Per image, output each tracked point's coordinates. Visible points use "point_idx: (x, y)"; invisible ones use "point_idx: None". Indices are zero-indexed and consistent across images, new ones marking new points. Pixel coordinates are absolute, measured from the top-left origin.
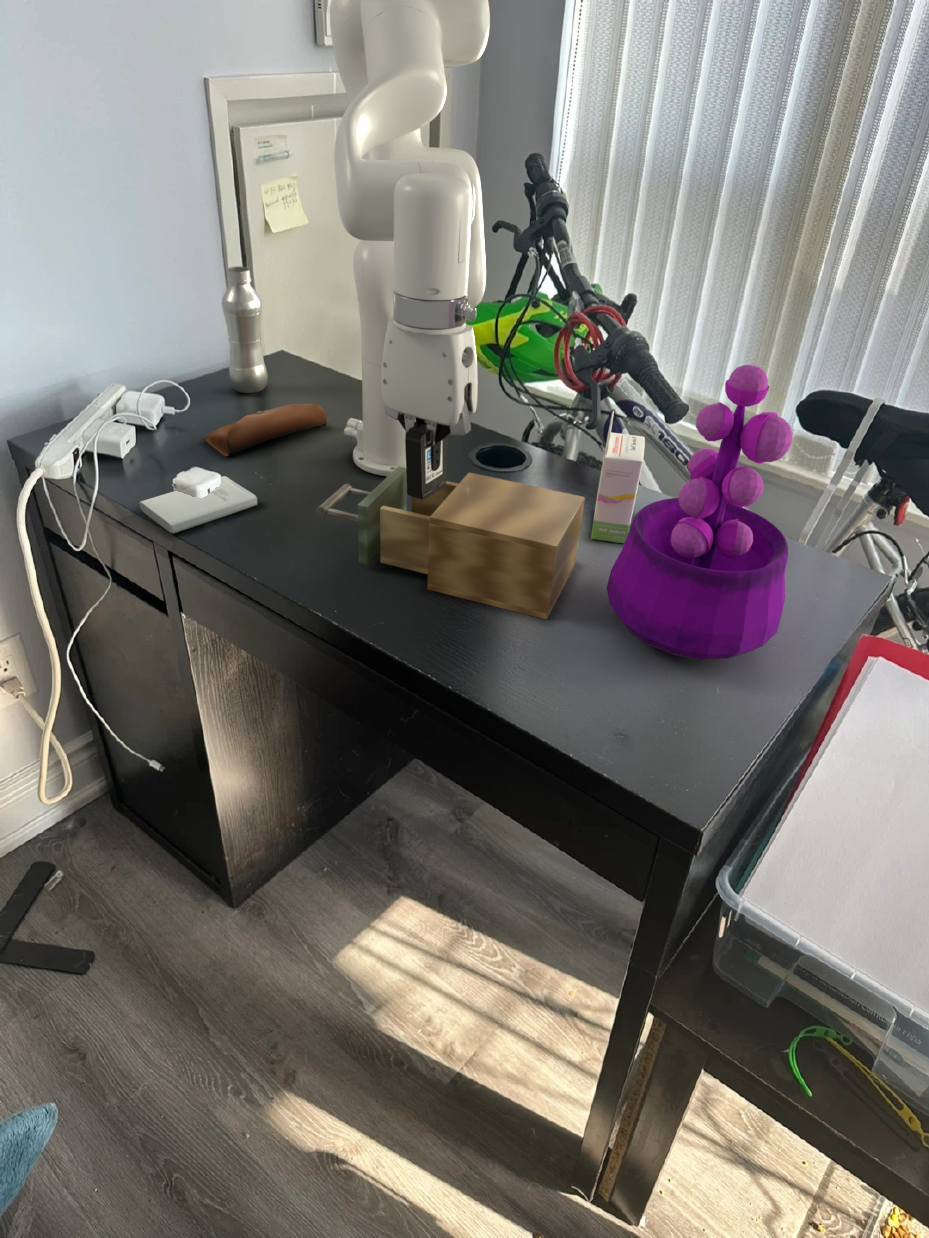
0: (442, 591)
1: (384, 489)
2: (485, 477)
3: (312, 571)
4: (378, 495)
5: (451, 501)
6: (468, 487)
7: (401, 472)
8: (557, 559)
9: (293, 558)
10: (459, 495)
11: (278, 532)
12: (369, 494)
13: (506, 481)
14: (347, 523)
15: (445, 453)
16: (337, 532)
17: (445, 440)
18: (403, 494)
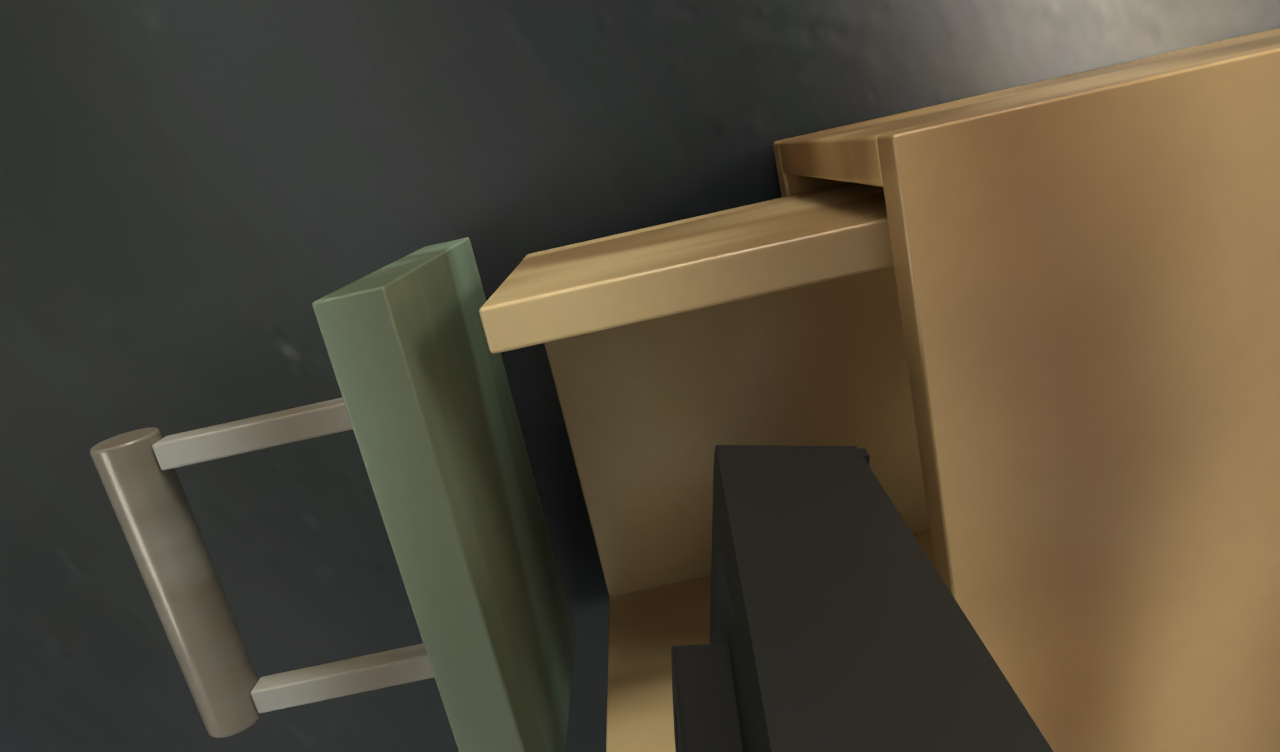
0: None
1: (488, 644)
2: (1058, 134)
3: (408, 730)
4: (513, 722)
5: (1008, 616)
6: (1016, 374)
7: (401, 374)
8: None
9: (282, 709)
10: (1016, 517)
11: (67, 607)
12: (461, 743)
13: (1240, 79)
14: (221, 364)
15: (929, 570)
16: (252, 455)
17: (983, 656)
18: (443, 312)
